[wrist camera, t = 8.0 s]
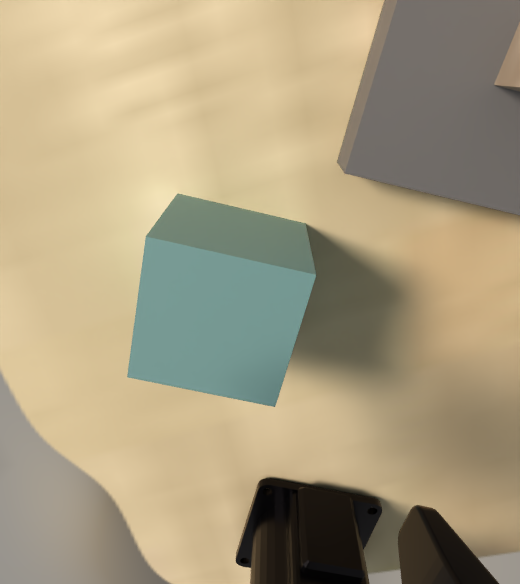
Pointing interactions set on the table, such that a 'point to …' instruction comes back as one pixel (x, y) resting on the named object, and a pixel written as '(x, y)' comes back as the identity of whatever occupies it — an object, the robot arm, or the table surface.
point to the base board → (439, 103)
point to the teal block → (221, 300)
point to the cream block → (511, 65)
